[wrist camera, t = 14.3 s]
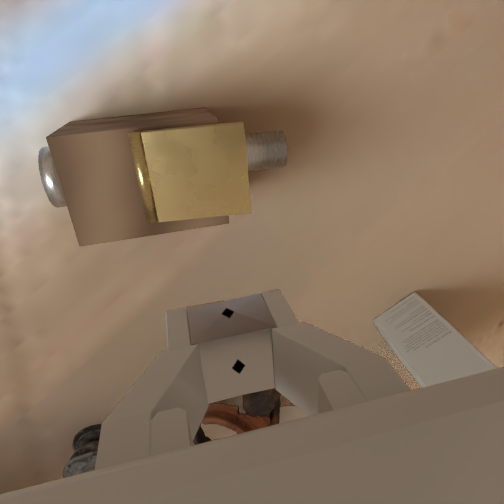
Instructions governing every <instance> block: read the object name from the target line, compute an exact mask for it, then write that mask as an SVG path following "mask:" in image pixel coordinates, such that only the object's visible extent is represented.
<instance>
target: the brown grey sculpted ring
mask: <svg viewBox="0 0 504 504" xmlns="http://www.w3.org/2000/svg"><path fill="white" fill-rule="evenodd" d="M280 395H281V393H279V392H278V391H277V390H276V388H273V389H268V390H264V391H259V392H254V393H249V394H244V395H243V408H244V410H245V411H246V412H247V413H246V414H243V413H239V406H236V405H228V404H215V403H210V404H208V405H209V406H208V408H207V411H206V413H205V415H204V417H203V420H202V423H203V424H219V425H222V426H225V427H227V428H229V429H232V430H234V431H235V432H236V433H237V434H241V433H244V432H248V431H252V430H256V429H260V428H264V427H268V426H272V425H276V424H279V419H280V416H279V414H280ZM200 426H201V424H200ZM200 426H199V428H198V431H197V433H196V435H195V437H194V439H193V443H194V445H197V444H201V443H205V442H209V441H211V440H210V439H209V438H208V437H206V436H205V434H204V432H203V430H202V428H201V427H200Z"/></svg>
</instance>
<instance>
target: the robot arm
mask: <svg viewBox="0 0 504 504" xmlns="http://www.w3.org/2000/svg"><path fill="white" fill-rule="evenodd" d="M186 309H187V310H186ZM166 335H167V351H162V352H161V353H160V354H159V355H158V356H157V358H156V359H155V360H154V361H153V362H152V364H151V365H150V366H149V367H148V368H147V370H146V371H145V372H144V373H143V374H142V376H141V377H140V378H139V379H138V381H137V382H136V383H135V384H134V385H133V387H132V388H131V389H130V390H129V391H128V393H127V394H126V395H125V396H124V397H123V399H122V400H121V401H120V402H119V403H118V405H117V406H116V407H115V408H114V409H113V411H112V412H111V413H110V414H109V415H108V417H107V418H106V419H105V420H104V421H103V423H102V425H101V432H100V439H99V445H98V452H97V458H96V465H95V470H94V471H90V472H86V473H82V474H78V475H74V476H70V477H66V478H62V479H58V480H54V481H50V482H46V483H42V484H38V485H34V486H30V487H26V488H22V489H19V490H15V491H11V492H7V493H3V494H0V504H504V367H501V368H497V369H493V370H489V371H486V372H482V373H478V374H474V375H470V376H466V377H462V378H458V379H454V380H450V381H446V382H442V383H438V384H434V385H430V386H426V387H423V388H419V389H415V390H410V388H409V387H408V386H407V385H406V383H405V382H404V381H403V380H402V378H401V377H400V376H399V375H398V373H397V372H396V371H395V370H394V368H393V367H392V366H391V365H390V363H389V362H388V361H387V360H386V358H384V357H382V356H380V355H377V354H375V353H373V352H371V351H368V350H366V349H364V348H362V347H359V346H357V345H355V344H353V343H350V342H348V341H346V340H344V339H341V338H339V337H337V336H335V335H332V334H330V333H328V332H326V331H323V330H321V329H319V328H317V327H314V326H312V325H310V324H308V323H306V322H301V323H299V322H298V321H297V319H296V317H295V315H294V314H293V312H292V310H291V308H290V307H289V305H288V303H287V302H286V300H285V298H284V296H283V295H282V293H281V291H280V290H278V289H276V290H272V291H267V292H263V293H259V294H255V295H250V296H246V297H241V298H236V299H232V300H227V301H218V302H213V303H207V304H201V305H195V306H189V307H186V308H185V307H183V308H178V309H173V310H168V311H166ZM273 388H276V390H277V391H278V392H279V393H281V394H282V395H283V396H284V397H286V398H287V399H288V400H289V401H291V402H292V403H293V404H294V405H296V406H297V407H298V408H299V409H301V410H302V411H303V412H304V413H306V414H307V415H308V416H307V417H303V418H299V419H296V420H292V421H288V422H284V423H280V424H276V425H272V426H268V427H264V428H260V429H256V430H252V431H248V432H244V433H241V434H237V435H233V436H229V437H225V438H221V439H217V440H213V441H209V442H205V443H201V444H197V445H193V439H194V437H195V435H196V433H197V431H198V428H199V426H200V424H201V422H202V420H203V417H204V415H205V413H206V411H207V408H208V406H209V405H208V404H210V403H213V402H217V401H221V400H225V399H229V398H232V397H236V396H240V395H244V394H249V393H254V392H259V391H264V390H268V389H273Z"/></svg>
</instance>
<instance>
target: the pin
mask: <svg viewBox="0 0 504 504" xmlns="http://www.w3.org/2000/svg"><path fill="white" fill-rule="evenodd" d="M245 141H246V153H247V166H248V171H254V170H262V169H269V168H277V167H284V166H285V165H286V163H287V144H286V139H285V136H284V133H283V132H282V131H281V130H280V131H272V132H263V133H255V134H246V135H245ZM39 170H40V175H41V180H42V183H43V186H44V189H45V192H46V194H47V196H48V198H49V200H50V202H51V203H52V204H53V205H54V206H55V207H57V208H58V207H65V206H67V204H66V201H65V197H64V194H63V191H62V188H61V184H60V181H59V178H58V175H57V171H56V168H55V165H54V162H53V158H52V155H51V152H50V149H49V147H42V148H41V149H40V151H39Z"/></svg>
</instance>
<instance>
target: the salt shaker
mask: <svg viewBox="0 0 504 504" xmlns="http://www.w3.org/2000/svg"><path fill="white" fill-rule="evenodd" d="M100 432H101V425H93V426H89V427H87V428H84V429H83V430H81V431H80V432H79V433H78V434H77V435H76V436H75V438H74V440H73V448H74V451H75V453H74V454H73V456H72V457H71V459H70V461H69V462H68V463H67V464H66V466H65V468H64V470H63V477H64V478H66V477H70V476H74V475H78V474H82V473H86V472H90V471H94V470H95V465H96V458H97V452H98V445H99V439H100Z"/></svg>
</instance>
